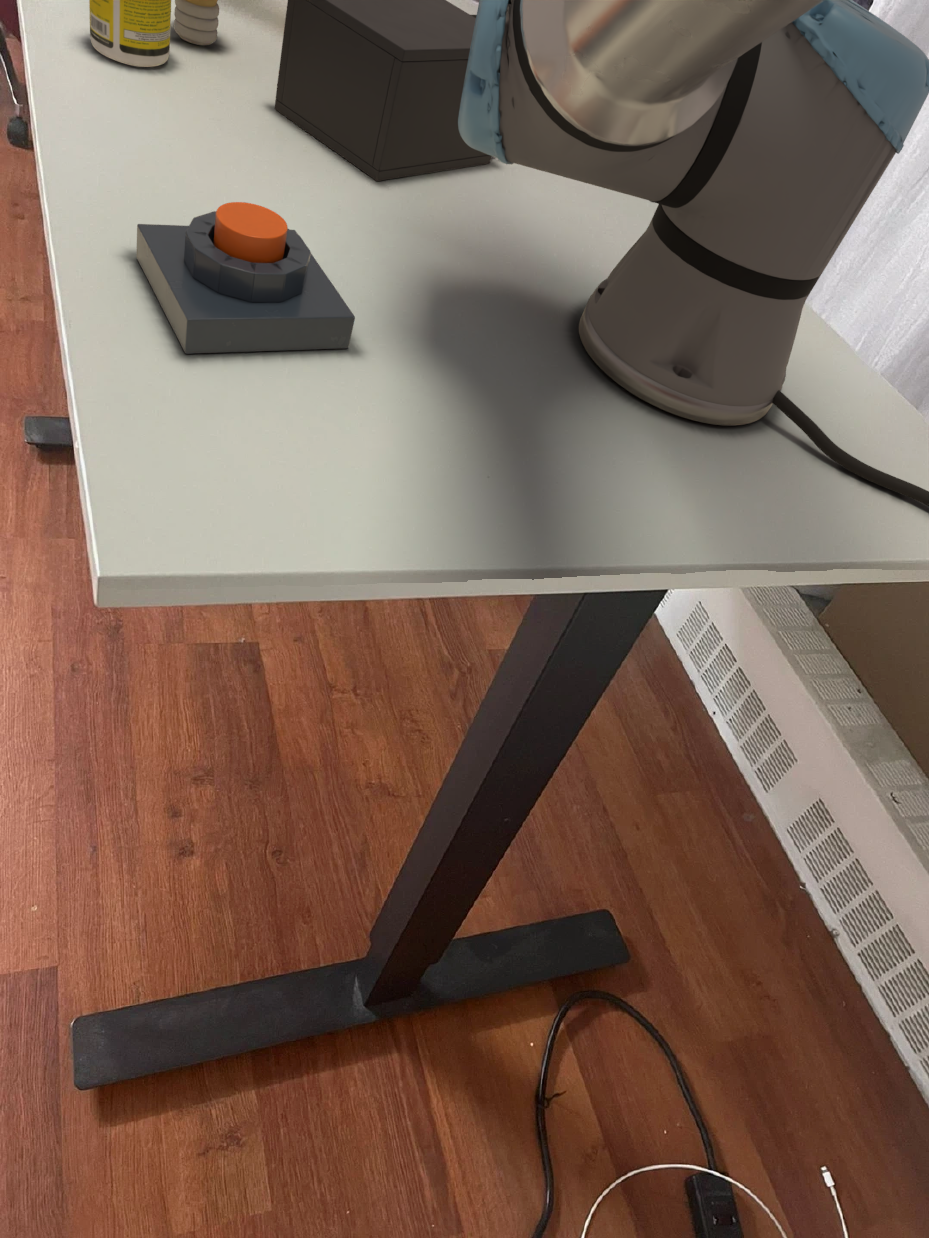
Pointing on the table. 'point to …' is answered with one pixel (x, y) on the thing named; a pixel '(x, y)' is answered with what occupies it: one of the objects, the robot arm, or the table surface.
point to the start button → (250, 232)
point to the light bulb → (197, 20)
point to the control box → (240, 293)
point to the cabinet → (379, 82)
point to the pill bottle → (131, 30)
